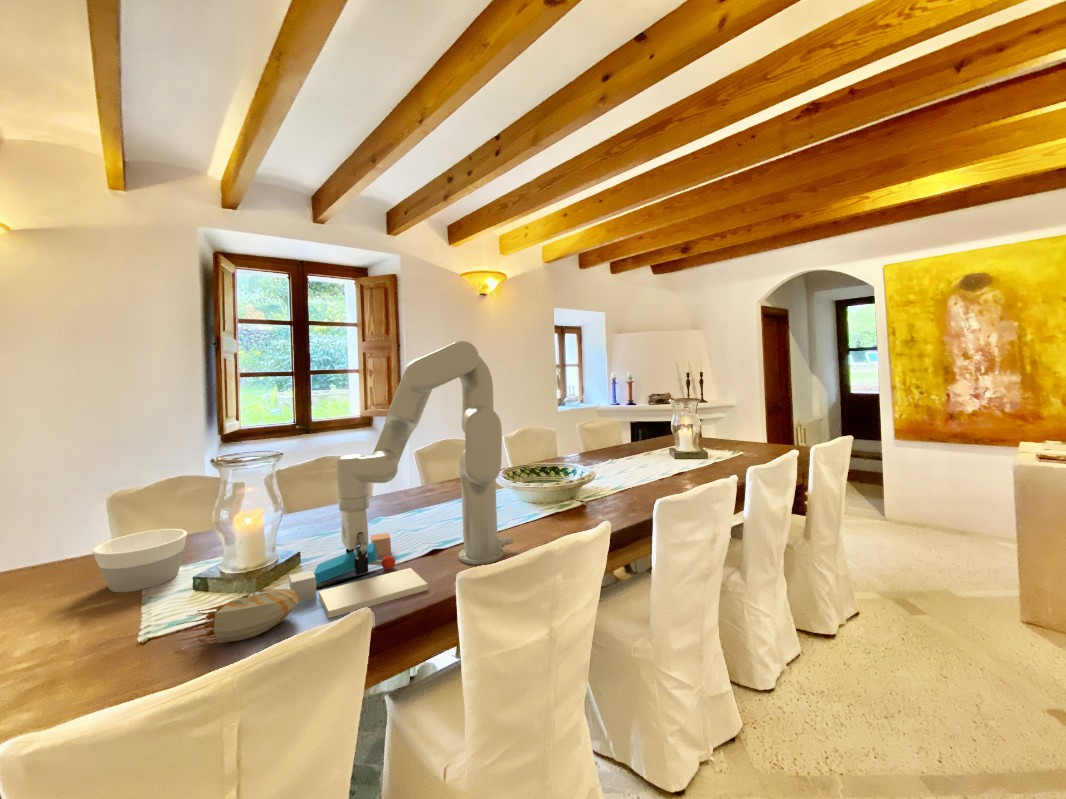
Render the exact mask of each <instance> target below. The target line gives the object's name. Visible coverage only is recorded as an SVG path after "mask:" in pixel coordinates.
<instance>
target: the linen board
mask: <svg viewBox="0 0 1066 799" xmlns="http://www.w3.org/2000/svg"><path fill="white" fill-rule="evenodd" d="M425 591H428V582H426V581H425V580H424V578H422V577H421V576H420V575H419V574H418V573H417V572H415V570H414V569H413V568H412V567H408V568H404V569H401V570H396V571H393V572H389V573H384V574H381V575H377V576H373V577H369V578H366V579H365V578H364V579H361V580H357V581H354V582H350V583H346V584H345V583H344V584H341V585H338V586H334V587H330V588H326V589H322V590H318V596H319V597H318V598H319V599H320V600H319V601H320V602H321V604H322V606H323V609H324V610H325V612H326V615H327V617H328V618H329V619H331V618H334V617H337V616H342V615H344V614H347V613H348V614H349V613H351V612H356V611H358V610H357V609H359V610H361V609H360V608H363V609H365V608H364V607H366V608H369V607H372V606H376V605H379V604H384V603H386V602H390V601H393V600H397V599H401V598H405V597H408V596H410V595H411V596H412V595H414V594H418V593H421V592H425ZM355 610H356V611H355Z"/></svg>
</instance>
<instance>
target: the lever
mask: <svg viewBox="0 0 1066 799" xmlns="http://www.w3.org/2000/svg"><path fill="white" fill-rule="evenodd" d="M366 550H367V555H368V566H370V565H371V566H373V565H374V566H376V565H377V566H381V567H382V568H383V569H385V570H392V569H393V568H394V567H395V565H396V559H395V557H394V556H393V555H385V556H383V558H382V559H377V558H378V557H377V551H378V550H377V548H376V545H375V542H374V543H371V542H370V543H368V546H367V548H366ZM357 551H358V552H359V551H360V550H357ZM354 559H356V558H355V553H354V550H353V551H351V552H348V553H346V552H345V553H344V554H340V555H338V556H336V557H333V558H331V559H328V560H325V561H324V562H321V563H318V564H317V566H316V568H315V570H314V571H313V573H314V575H315V578H316V585H317V584H320V583H322V582H326V581H327V580H331V579H333V578H334V577H338V576H340V575H343V574H346V573H348V572H351V571H352V570H355V565H354Z"/></svg>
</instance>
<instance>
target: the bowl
mask: <svg viewBox="0 0 1066 799" xmlns="http://www.w3.org/2000/svg"><path fill="white" fill-rule="evenodd" d="M187 537H188V532H187V531H186V530H185V529H181V528H180V529H179V528H162V529H155V530H154V529H152V530H145V531H141V532H137V533H132V534H127V535H123V536H119V537H116V538H112V539H110V540H107V541H104V542H103V543H100V544H98V545H97V546H95V547H94V548H93V549H92V551H91V552H92V554H93V557H94V559H95V561H96V563H97V565H98V567H99V570H100V571H101V575H102V576H103V578H104V580H105V582H106V584H107V586H108V589H109V591H111V592H113V593H129V592H137V591H141V590H146V589H151V588H153V587H157V586H159V585H162V584H165V583H167V582H170V581H171V580H172V579H174V578H176V577H177V576H178V574H179V572H180V567H181V564H182V563H181V562H182V560H183V559H182V557H183V555H184V554H183V552H184V549H185V545H186V541H187Z"/></svg>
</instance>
